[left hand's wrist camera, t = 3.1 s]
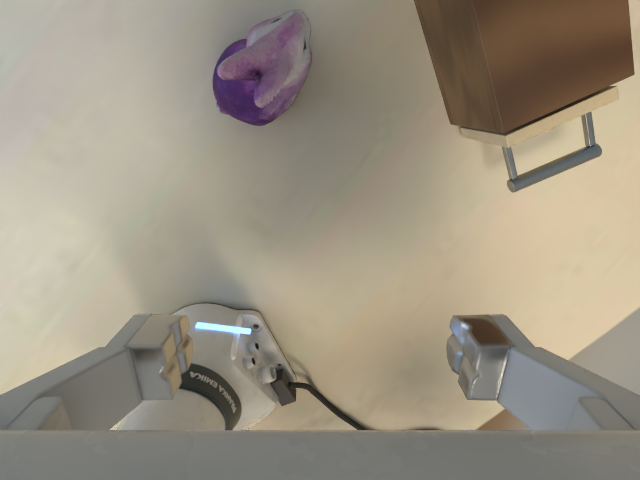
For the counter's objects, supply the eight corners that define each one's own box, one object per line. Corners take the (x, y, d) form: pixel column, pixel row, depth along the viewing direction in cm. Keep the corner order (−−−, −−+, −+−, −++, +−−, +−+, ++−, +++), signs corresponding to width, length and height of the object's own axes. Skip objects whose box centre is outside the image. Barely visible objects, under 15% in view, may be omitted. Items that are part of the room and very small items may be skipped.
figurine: (317, 37, 37) (323, -2, 23) (297, 133, 40) (291, 150, 26) (230, 12, 36) (180, -45, 22) (218, 113, 39) (168, 119, 25)
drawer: (554, 144, 41) (625, 157, 32) (474, 179, 42) (520, 201, 33) (512, -83, 33) (592, -156, 23) (415, -31, 34) (454, -80, 25)
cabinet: (542, 81, 39) (634, 74, 28) (450, 124, 41) (503, 133, 30) (505, -120, 32) (608, -236, 21) (396, -60, 34) (439, -138, 23)
